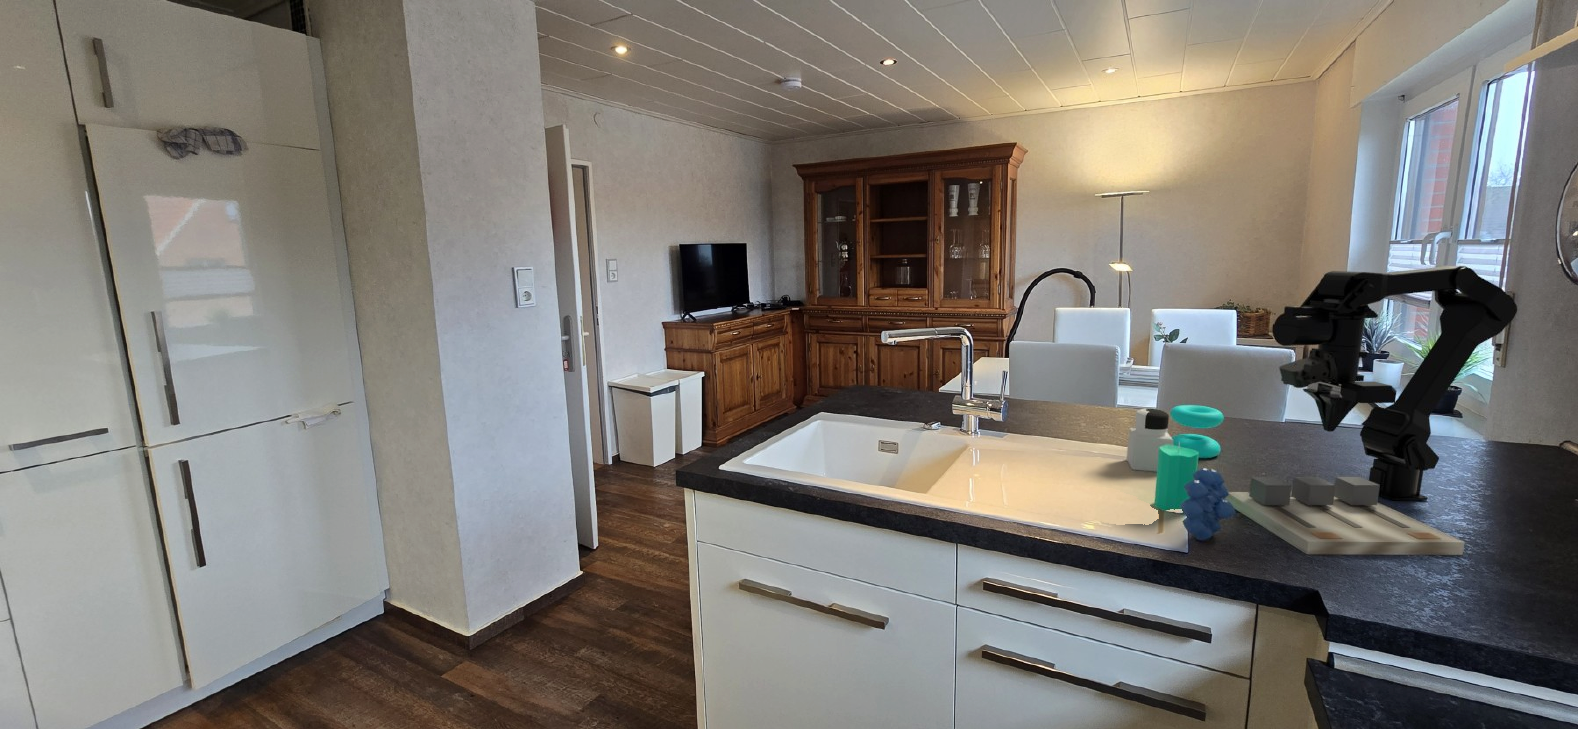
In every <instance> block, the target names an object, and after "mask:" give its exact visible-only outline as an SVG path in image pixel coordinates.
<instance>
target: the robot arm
mask: <svg viewBox="0 0 1578 729" xmlns="http://www.w3.org/2000/svg"><path fill="white" fill-rule="evenodd" d="M1427 292H1434V301H1435V303H1437V305H1438V306H1440V308H1441V309H1442V311H1441V314H1440V316H1439V326H1440V335H1439V336H1438V338H1437V339H1436V341H1435V342H1434V343H1433V345H1432V346H1431V348H1430V349H1429V352H1428V353H1427V354H1426V355H1425V357H1424V358H1423V360H1422V362H1421V363H1420V365H1419V366H1418V368H1417V369H1416V371H1415V372H1414V374H1413V375H1412V377H1411V378H1410V379H1409V382H1408V383H1407V384H1406V385H1405V387H1404V388H1403V389H1402V391H1401V393H1400V394H1399V395H1398V397H1397V390H1396V389H1395V388H1394V386H1393V385H1390V384H1385V383H1384V382H1383V383H1382V382H1379V381H1364V380H1365V375H1363V374H1359V366H1360V359H1361V358H1362V359H1363V358H1364V359H1366V358H1367V357H1368V351H1366V350H1365V351H1364V350H1362V343H1363V335H1364V329H1365V328H1364V327H1365V321H1366V319H1376V318H1378V317H1379V314H1378V313H1377V312H1376V311H1374V310H1372V308H1371V307H1370V306H1369V305H1371V304H1375V303H1379V302H1381V301H1383V299H1385V298H1387V297H1392V296H1400V295H1408V294H1417V293H1418V294H1419V293H1427ZM1283 310H1284V311H1283V313H1280V314H1279V316H1277V317H1276V319H1275V321H1274V323H1273V324H1272V327H1271V329H1272V330H1271V332H1272V337H1273V338H1274V340H1275V341H1276V342H1277V343H1278V345H1281V346H1283V347H1293V346H1297V347H1298V346H1317V347H1311V349H1310V350H1309V355H1308V357H1305V358H1301V359H1297V360H1294V361H1291V362H1289V363H1286V364H1283V365H1281V366H1279V367H1278V368H1279V372H1280V376H1281V379H1280V381H1281V382H1282V384H1283V385H1287V386H1288V385H1290V386H1292V387H1293V388H1296V389H1301V388H1302V392H1304V393H1306V394H1308V395H1309V396H1311V398H1312V399H1314V401H1315V404H1316V407H1317V410H1318V414H1319V417H1320V421H1321V424H1322V427H1323V430H1324V431H1326V432H1328V433H1329V432H1334V431H1335V430H1336V429H1337V428H1338V427H1339V425H1340V424H1341V423H1342V422H1343V420H1344V419H1345V418H1346V417H1347V415H1349V413H1350V412H1351V411H1352V410H1353V409H1354V408H1355V407H1356V406H1357V405H1358V404H1390V405H1388V406H1387V407H1382V406H1378V405H1375V406H1374V407H1373V408H1372V409H1371V410H1370V412H1369V415H1368V417H1367V418H1366V419H1365V420H1363V421H1362V422H1361V424H1360V425H1361V426H1363V427H1361V430H1360V432H1359V436H1360V437H1361V442H1362V445H1363V450H1364V453H1365V454H1364V455H1365V456H1368V457H1369V456H1370V457H1373V462H1372V466H1371V467H1370V469H1369V477H1368V480H1369V481H1371V482H1373V483H1376V484H1378V485H1380V488H1379V495H1378V496H1381V497H1382V498H1385V499H1388V500H1390V501H1428V499H1429V498H1428V496H1425V495H1424V494H1421V489H1422V481H1423V476H1424V471H1428V470H1434V469H1435V468H1436V466H1437V464H1438V462H1439V460H1440V457H1439V456H1438V454H1436V453H1435V451H1434V450H1433V448H1431V446H1430V445H1428V441H1429V438H1430V437H1431V435H1432V430H1431V423H1430V416H1431V414H1432V413H1433V412H1434V410H1435V408H1437V406H1438V405H1439V403H1440V401H1441V400H1442V398H1443V397H1444V396H1445V394H1446V392H1447V391H1448V389H1449V388H1450V386H1451V385H1452V384H1453V382H1454V380H1455V379H1456V378H1457V377H1458V375H1459V374H1460V372H1461V370H1462V369H1463V367H1464V366H1465V365H1466V363H1467V362H1468V360H1469V359H1470V357H1471V356H1472V354H1473V353H1474V351H1475V350H1476V349H1477V347H1478V346H1479V345H1481V344H1483V343H1485V342H1487V341H1489V340H1490V339H1492V338H1495V337H1496V336H1498V335H1499V334H1501V333H1502V332H1503V330H1504V329H1505V328H1506V327H1507V326H1508V325H1509V324H1510V323H1511V322H1512V321H1513V320H1514V318H1515V317H1516V315H1517V312H1518V305H1517V304H1516V302H1515V300H1514V298H1513V297H1512V296H1511V295H1509V294H1508V293H1506V291H1504V290H1503V289H1502V287H1500V286H1498V285H1496V284H1494V283H1493V282H1490V281H1488V279H1485V278H1483V277H1481V276H1480V275H1479V274H1478V273H1476V272H1475V271H1474V269H1473V268H1471V267H1468V266H1465V265H1438V266H1434V267H1428V268H1419V269H1418V268H1417V269H1408V270H1399V271H1398V270H1397V271H1388V272H1382V273H1381V272H1370V271H1369V272H1368V271H1347V270H1345V271H1343V270H1342V271H1341V270H1332V271H1327V272H1326V273H1324V275H1323V277H1321V279H1320V281H1319V283H1318V284H1317V285H1316V286H1315V288H1314V289H1313V290H1312V291H1311V292H1310V294H1309V295H1308V296H1307V297H1306V299H1304V301H1303V302H1302V304H1301V305H1300V306H1293V305H1292V306H1291V305H1286V306H1284V309H1283ZM1396 397H1397V399H1396Z"/></svg>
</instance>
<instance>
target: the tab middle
mask: <svg viewBox="0 0 1578 729" xmlns="http://www.w3.org/2000/svg"><path fill="white" fill-rule="evenodd" d="M1291 485H1292V487H1291V492H1292V493H1291V496H1292V497H1293V498H1295V499H1297V500H1299V501H1301V502H1303V503H1305V504H1307V505H1333V501H1334V494H1335V486H1336V485H1335V483H1334V484H1333V483H1332V482H1330V481H1327V480H1325V479H1323V478H1321V477H1319V476H1293V477H1292V484H1291Z"/></svg>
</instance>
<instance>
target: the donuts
mask: <svg viewBox="0 0 1578 729" xmlns="http://www.w3.org/2000/svg"><path fill="white" fill-rule="evenodd" d="M1169 417H1170V418H1171V419H1172V420H1173V421H1174V422H1175V423H1177V424H1178V425H1182V426H1185V427H1189V428H1194V429H1196V428H1197V429H1211V428H1215V427H1217V426H1220V425H1221V424H1222V423H1223V422H1224V418H1225V417H1224V415H1223V413H1222V412H1221V410H1218V409H1216V408H1213V407H1209V406H1204V405H1197V404H1182V405H1180V404H1179V405H1176V406H1175V407H1172V408H1171V409H1170V412H1169ZM1171 438H1172V439H1173V445H1174V446H1179V442H1180V447H1183V448H1187V449H1192V450H1196V451H1197V452H1199V457H1198V459H1211V458H1214V457H1216V456H1219V454H1221V448H1222V447H1221V446H1220V444H1219V443H1218V442H1217V441H1216V440H1215V439H1213V438H1211V437H1209V436H1206V435H1202V434H1195V433H1180V434H1176V435H1173V436H1171Z"/></svg>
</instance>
